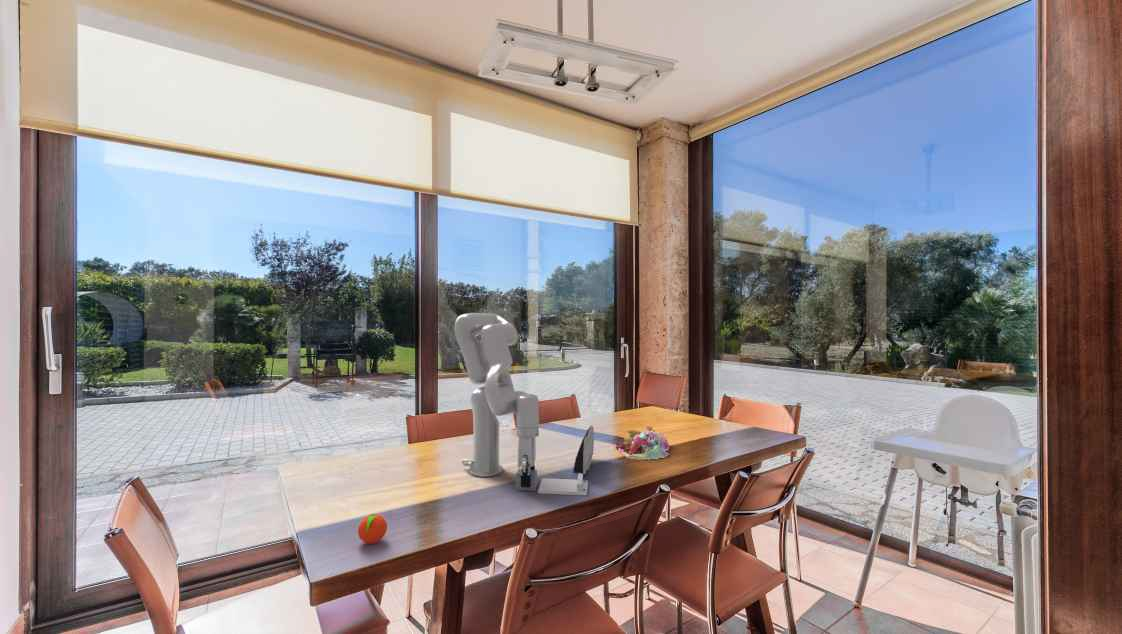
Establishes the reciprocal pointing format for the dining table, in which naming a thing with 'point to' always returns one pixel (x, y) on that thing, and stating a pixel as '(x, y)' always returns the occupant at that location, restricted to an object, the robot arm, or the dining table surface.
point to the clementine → (372, 528)
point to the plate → (564, 486)
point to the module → (533, 480)
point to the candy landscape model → (644, 445)
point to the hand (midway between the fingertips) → (528, 481)
